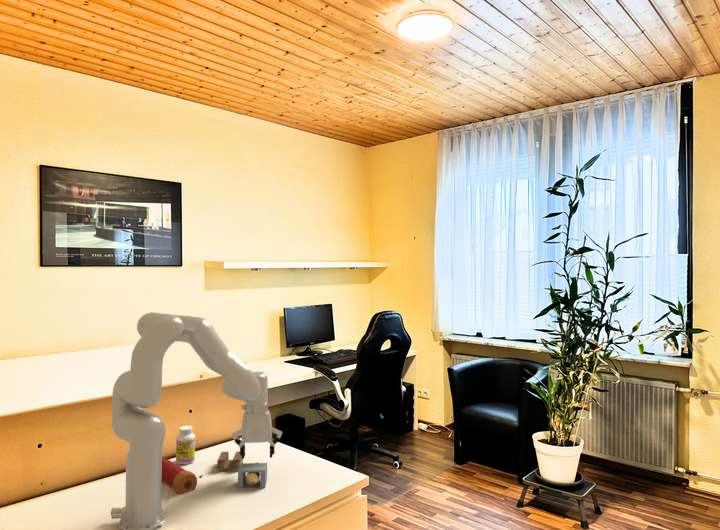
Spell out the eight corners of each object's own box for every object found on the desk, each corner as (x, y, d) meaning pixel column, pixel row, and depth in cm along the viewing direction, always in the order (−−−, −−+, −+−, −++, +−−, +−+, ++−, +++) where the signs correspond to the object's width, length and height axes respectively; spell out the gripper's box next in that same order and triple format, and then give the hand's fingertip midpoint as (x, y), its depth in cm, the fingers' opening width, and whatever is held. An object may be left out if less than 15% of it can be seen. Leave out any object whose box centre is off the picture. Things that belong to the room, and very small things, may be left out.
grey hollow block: (265, 490, 167) (265, 470, 167) (237, 491, 166) (238, 470, 166) (267, 482, 173) (267, 462, 173) (240, 483, 172) (241, 463, 172)
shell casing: (177, 499, 161) (177, 477, 161) (151, 479, 175) (152, 459, 175) (198, 492, 166) (198, 471, 166) (171, 473, 180) (171, 453, 180)
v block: (217, 474, 179) (217, 460, 179) (221, 465, 187) (221, 451, 187) (239, 473, 180) (239, 459, 180) (243, 464, 188) (243, 451, 188)
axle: (257, 486, 166) (258, 473, 167) (245, 486, 166) (246, 473, 166) (262, 474, 180) (262, 462, 180) (250, 474, 180) (251, 462, 180)
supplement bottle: (172, 464, 188) (172, 429, 188) (183, 457, 194) (183, 424, 194) (187, 466, 186) (188, 431, 186) (198, 459, 192) (198, 425, 192)
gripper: (229, 412, 173) (230, 462, 173) (281, 410, 174) (281, 460, 174) (233, 405, 180) (234, 453, 180) (282, 404, 181) (283, 451, 182)
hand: (257, 456), depth 177 cm, fingers open, 9 cm apart
